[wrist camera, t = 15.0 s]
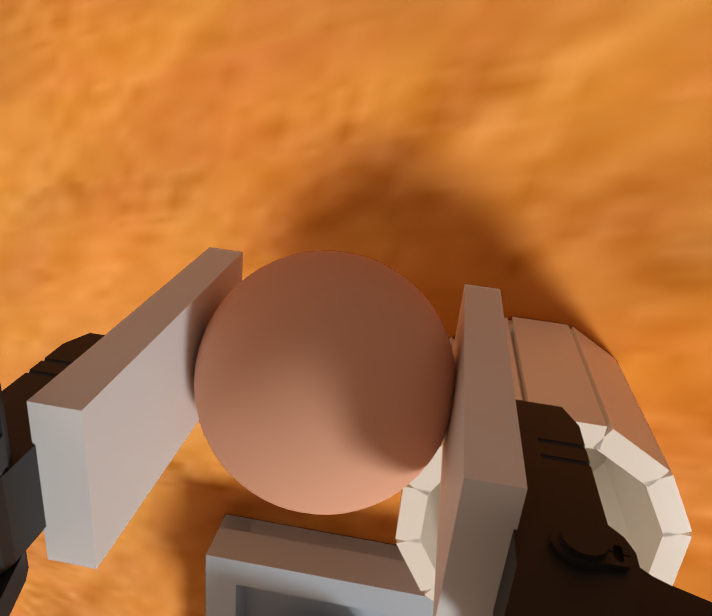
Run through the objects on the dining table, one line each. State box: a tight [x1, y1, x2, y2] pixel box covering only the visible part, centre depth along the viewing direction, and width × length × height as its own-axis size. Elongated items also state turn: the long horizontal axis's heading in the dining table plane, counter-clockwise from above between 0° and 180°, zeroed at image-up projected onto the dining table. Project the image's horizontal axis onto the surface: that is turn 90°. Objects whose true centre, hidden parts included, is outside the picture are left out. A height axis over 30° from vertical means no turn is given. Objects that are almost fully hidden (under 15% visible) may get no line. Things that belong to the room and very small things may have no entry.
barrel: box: [395, 317, 692, 601], centre depth 26 cm, size 10×10×8 cm
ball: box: [194, 251, 456, 515], centre depth 12 cm, size 5×5×5 cm
